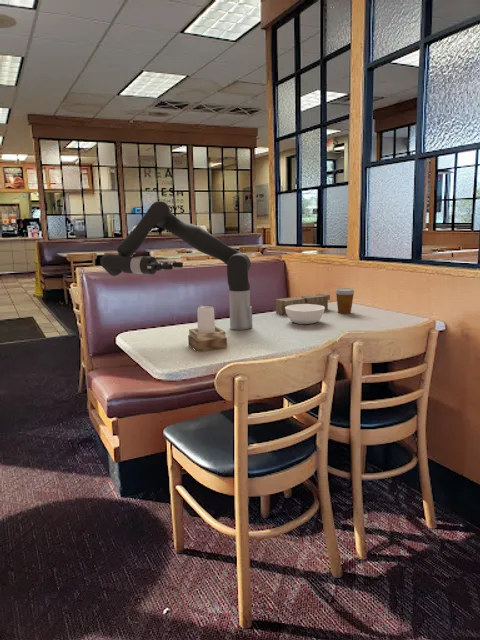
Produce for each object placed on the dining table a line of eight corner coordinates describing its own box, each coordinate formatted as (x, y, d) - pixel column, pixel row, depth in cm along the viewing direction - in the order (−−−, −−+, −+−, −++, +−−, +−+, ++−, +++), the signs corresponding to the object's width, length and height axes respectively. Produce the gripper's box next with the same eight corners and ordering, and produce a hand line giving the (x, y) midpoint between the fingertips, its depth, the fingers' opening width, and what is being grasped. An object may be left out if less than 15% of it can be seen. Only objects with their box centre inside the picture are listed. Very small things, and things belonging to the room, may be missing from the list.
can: (194, 337, 188) (193, 306, 185) (206, 333, 192) (205, 304, 190) (207, 339, 184) (205, 308, 181) (218, 336, 188) (217, 305, 186)
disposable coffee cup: (356, 311, 249) (357, 288, 247) (350, 315, 241) (350, 291, 239) (338, 310, 254) (339, 287, 252) (332, 313, 246) (332, 290, 244)
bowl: (323, 318, 236) (323, 303, 234) (326, 326, 218) (326, 310, 216) (285, 318, 238) (285, 304, 236) (285, 326, 220) (284, 311, 218)
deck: (217, 341, 196) (216, 331, 195) (227, 347, 186) (226, 337, 185) (188, 345, 192) (188, 335, 191) (197, 351, 182) (196, 341, 181)
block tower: (283, 317, 245) (330, 309, 257) (283, 301, 243) (330, 294, 256) (275, 315, 252) (321, 307, 264) (275, 299, 250) (321, 292, 262)
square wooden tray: (215, 332, 195) (215, 326, 195) (225, 338, 185) (225, 331, 185) (189, 335, 191) (189, 329, 191) (197, 341, 181) (197, 334, 181)
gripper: (133, 257, 199) (168, 258, 193) (152, 255, 212) (185, 255, 205) (134, 276, 200) (169, 277, 194) (153, 272, 213) (186, 273, 207)
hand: (177, 265), depth 200 cm, fingers open, 8 cm apart
